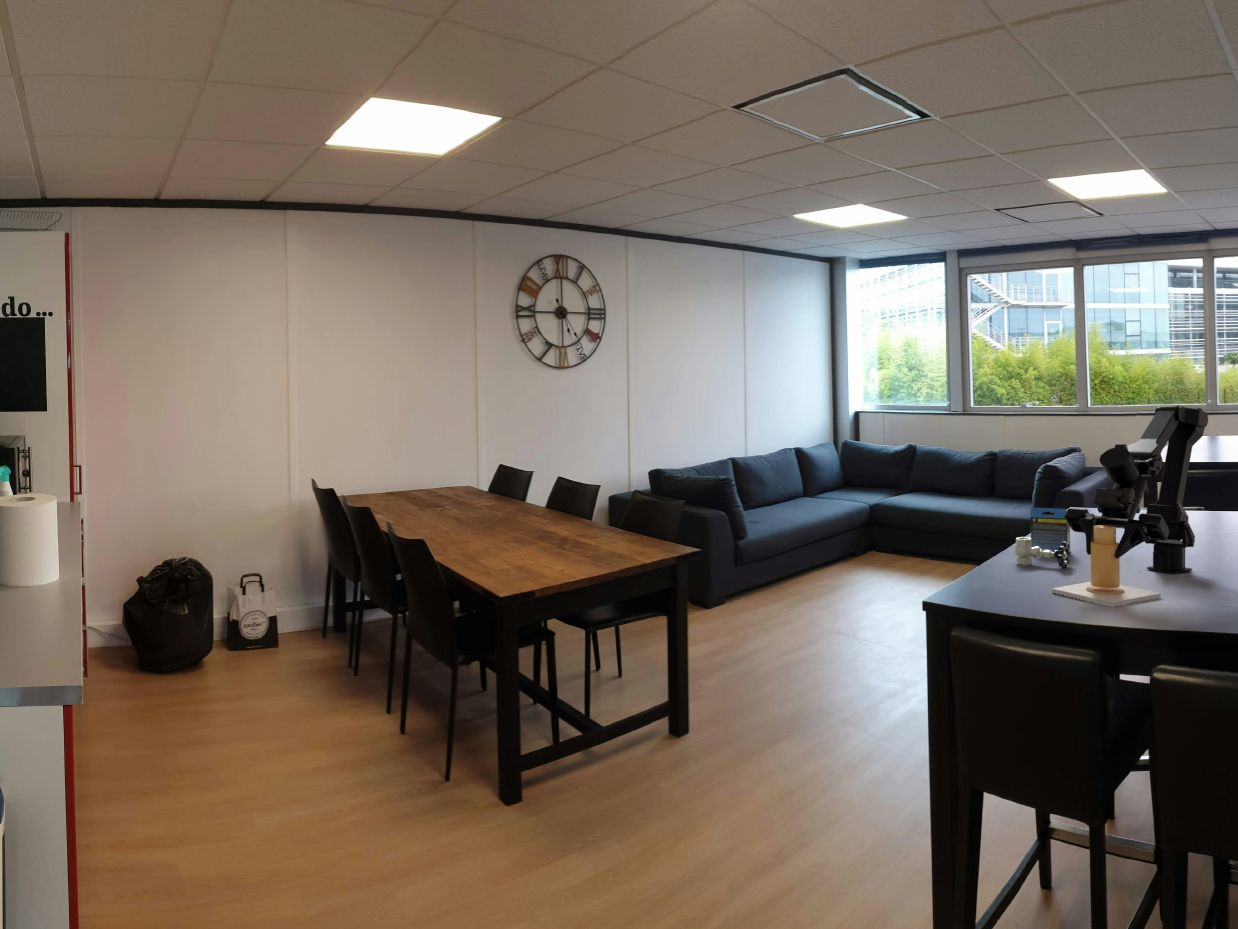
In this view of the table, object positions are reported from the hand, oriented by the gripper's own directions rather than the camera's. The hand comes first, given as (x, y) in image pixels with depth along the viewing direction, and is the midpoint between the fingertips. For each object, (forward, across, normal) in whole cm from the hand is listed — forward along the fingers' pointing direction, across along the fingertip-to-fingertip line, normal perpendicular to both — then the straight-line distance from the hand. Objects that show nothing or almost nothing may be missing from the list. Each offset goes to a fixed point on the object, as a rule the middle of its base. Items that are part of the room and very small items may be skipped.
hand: (1102, 555), depth 168 cm
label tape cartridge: (-19, -29, +32) cm, 48 cm away
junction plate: (+5, 0, +7) cm, 9 cm away
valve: (-8, -24, +21) cm, 33 cm away
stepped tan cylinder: (+4, 0, +6) cm, 7 cm away
